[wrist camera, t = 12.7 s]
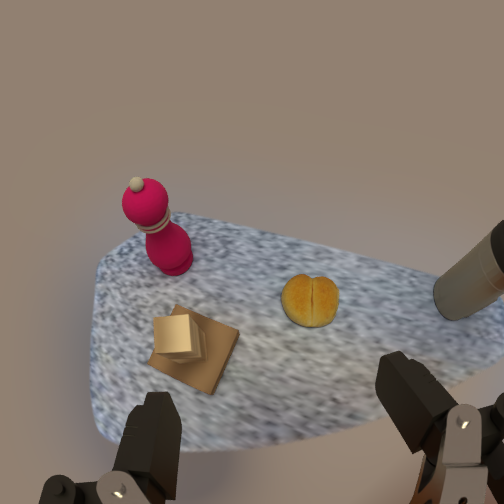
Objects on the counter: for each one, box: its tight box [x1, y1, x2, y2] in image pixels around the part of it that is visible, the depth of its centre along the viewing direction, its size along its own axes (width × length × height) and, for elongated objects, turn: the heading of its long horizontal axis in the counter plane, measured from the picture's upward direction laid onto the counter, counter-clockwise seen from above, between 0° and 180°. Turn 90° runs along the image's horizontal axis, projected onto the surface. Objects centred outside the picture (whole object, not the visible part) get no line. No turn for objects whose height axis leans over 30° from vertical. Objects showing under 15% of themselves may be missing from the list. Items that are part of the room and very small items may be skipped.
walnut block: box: [147, 304, 240, 395], centre depth 38 cm, size 10×10×3 cm
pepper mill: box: [122, 177, 193, 276], centre depth 38 cm, size 7×7×20 cm
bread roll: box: [281, 274, 339, 327], centre depth 41 cm, size 8×9×4 cm
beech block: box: [154, 314, 208, 364], centre depth 32 cm, size 4×4×10 cm
